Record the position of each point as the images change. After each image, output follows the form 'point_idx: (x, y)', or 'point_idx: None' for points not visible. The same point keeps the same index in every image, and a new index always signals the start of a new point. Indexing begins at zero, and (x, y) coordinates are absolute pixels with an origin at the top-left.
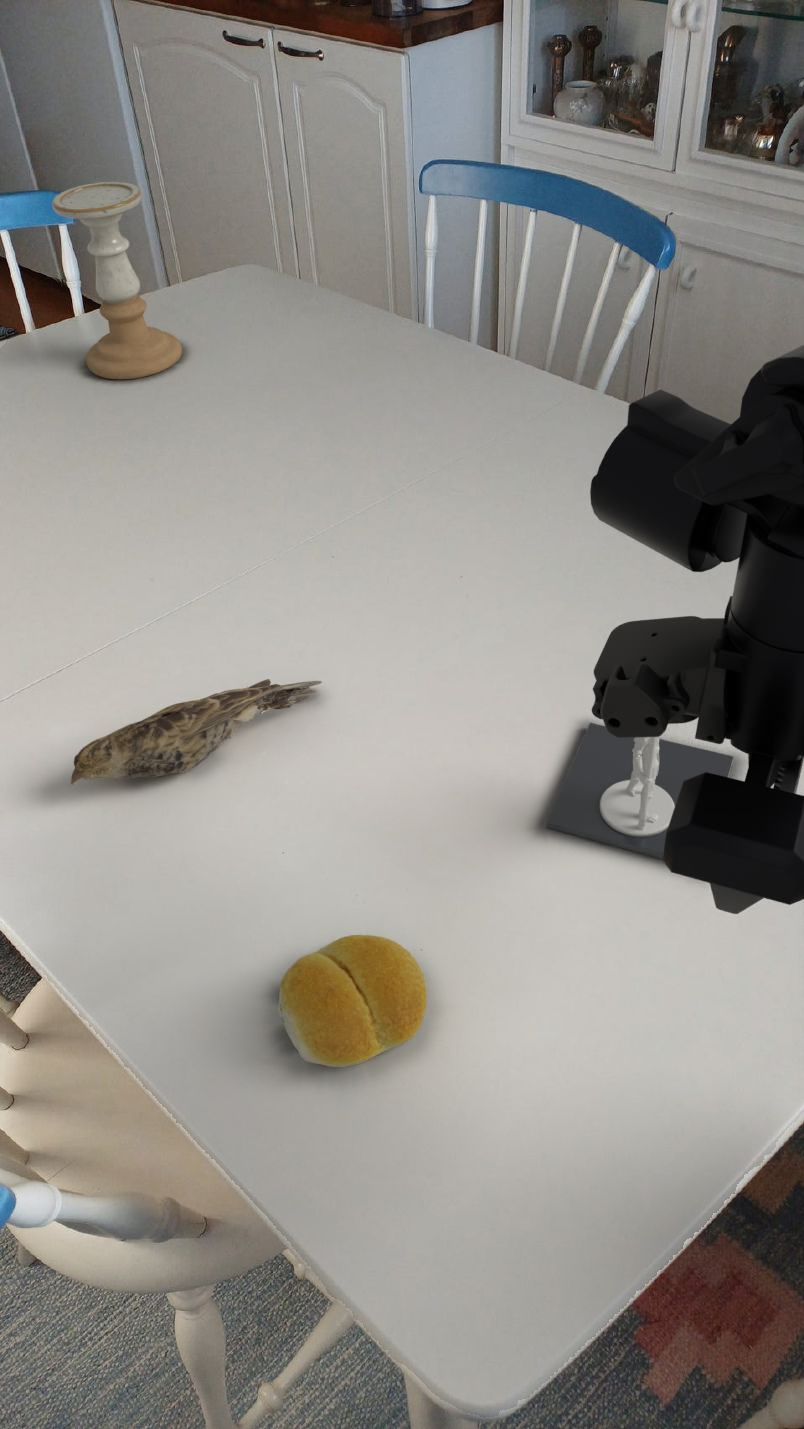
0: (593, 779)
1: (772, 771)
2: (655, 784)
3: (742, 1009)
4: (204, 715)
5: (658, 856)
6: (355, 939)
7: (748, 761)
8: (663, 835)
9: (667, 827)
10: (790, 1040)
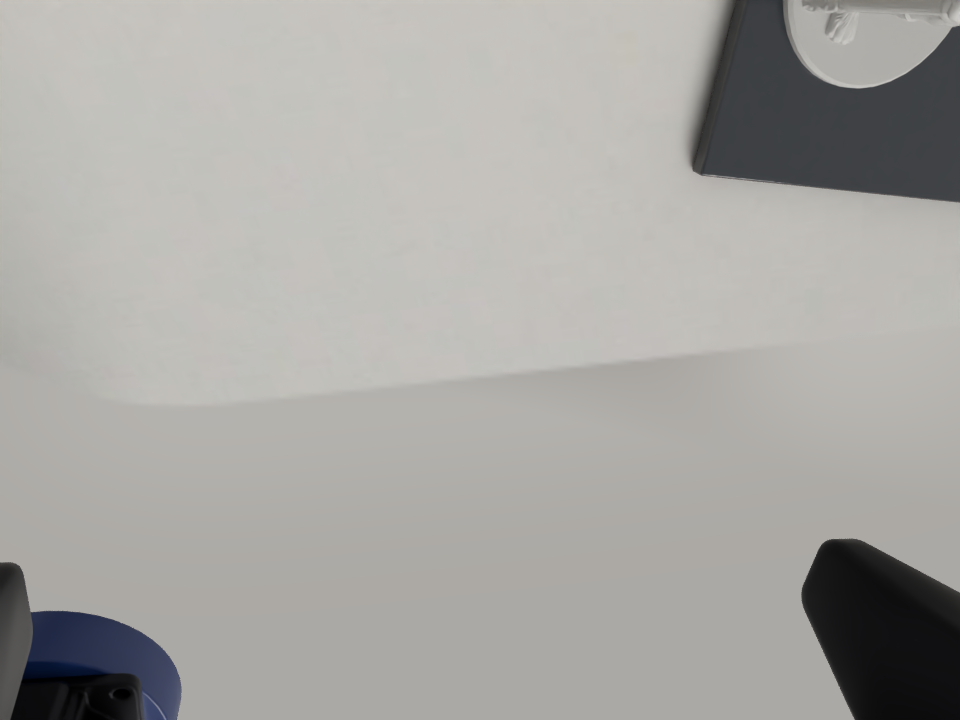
0: None
1: (876, 698)
2: None
3: (331, 301)
4: None
5: (723, 60)
6: None
7: (950, 628)
8: (786, 66)
9: (812, 73)
10: (288, 393)
